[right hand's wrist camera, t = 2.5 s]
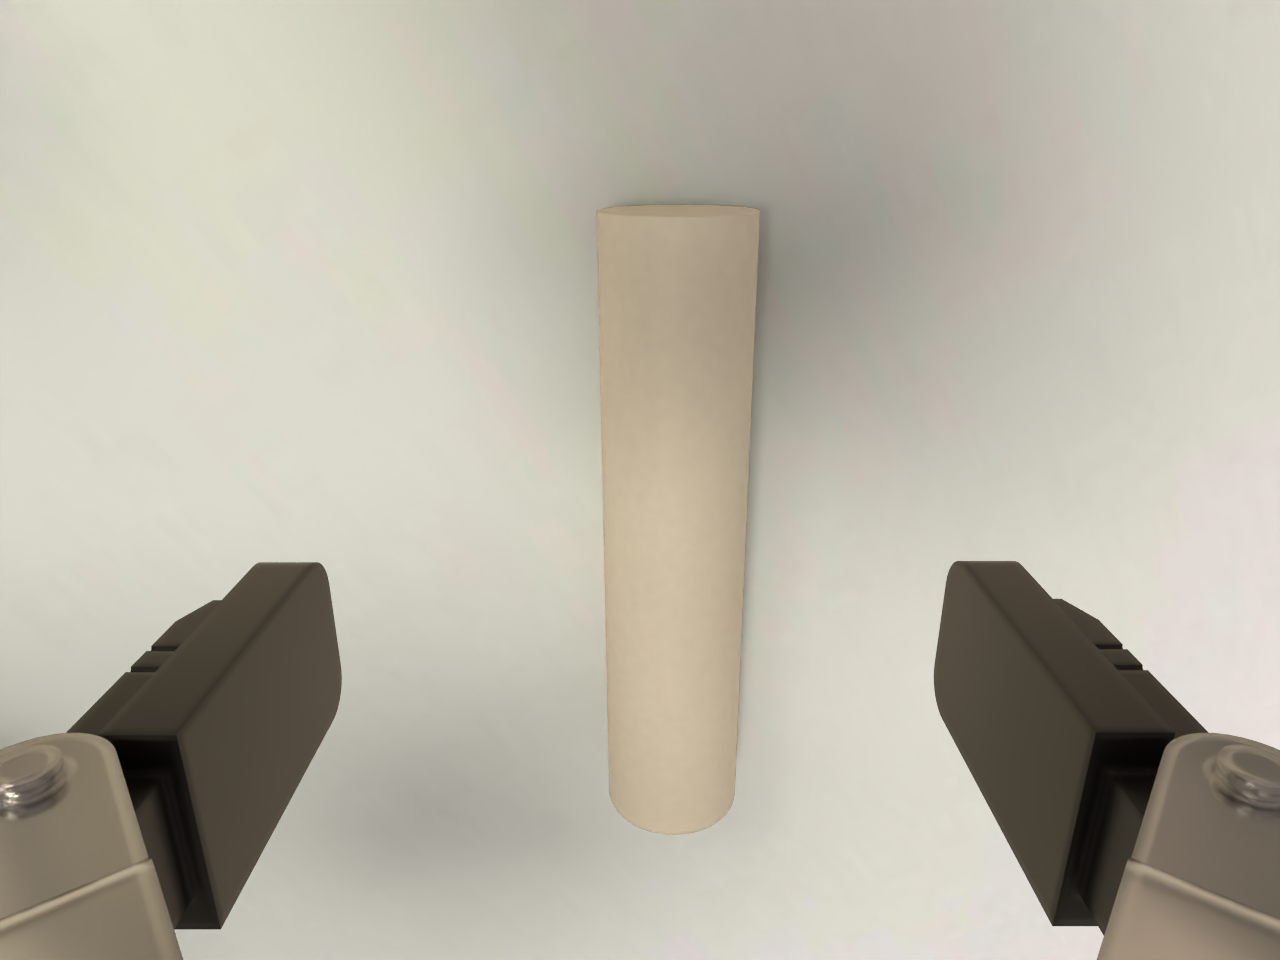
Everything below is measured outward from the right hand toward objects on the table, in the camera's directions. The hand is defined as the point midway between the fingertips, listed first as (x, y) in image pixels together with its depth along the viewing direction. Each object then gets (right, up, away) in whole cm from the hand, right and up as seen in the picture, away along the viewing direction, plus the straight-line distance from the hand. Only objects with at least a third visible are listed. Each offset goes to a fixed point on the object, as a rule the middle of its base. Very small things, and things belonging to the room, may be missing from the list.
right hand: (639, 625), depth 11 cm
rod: (+1, +1, +24) cm, 24 cm away
